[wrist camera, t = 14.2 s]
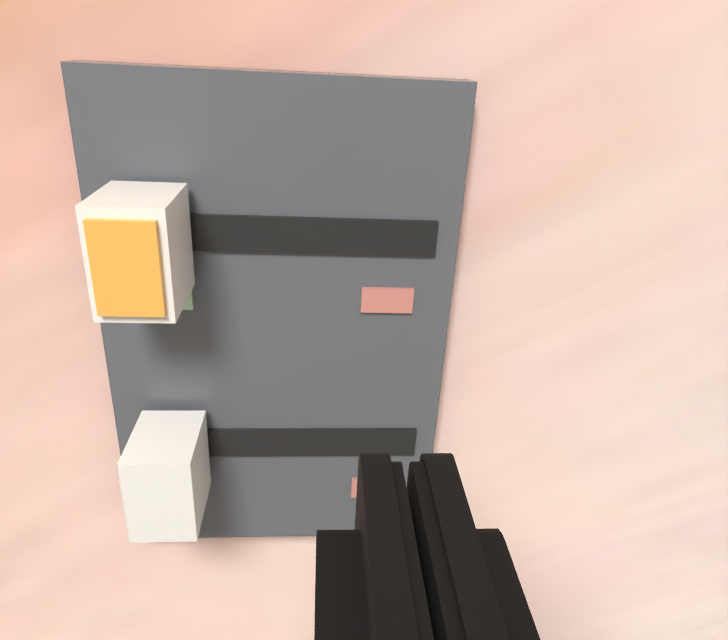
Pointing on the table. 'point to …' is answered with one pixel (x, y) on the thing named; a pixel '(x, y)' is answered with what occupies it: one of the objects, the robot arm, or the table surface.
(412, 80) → the breaker panel
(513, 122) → the table surface
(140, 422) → the block
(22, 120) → the table surface
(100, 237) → the block
